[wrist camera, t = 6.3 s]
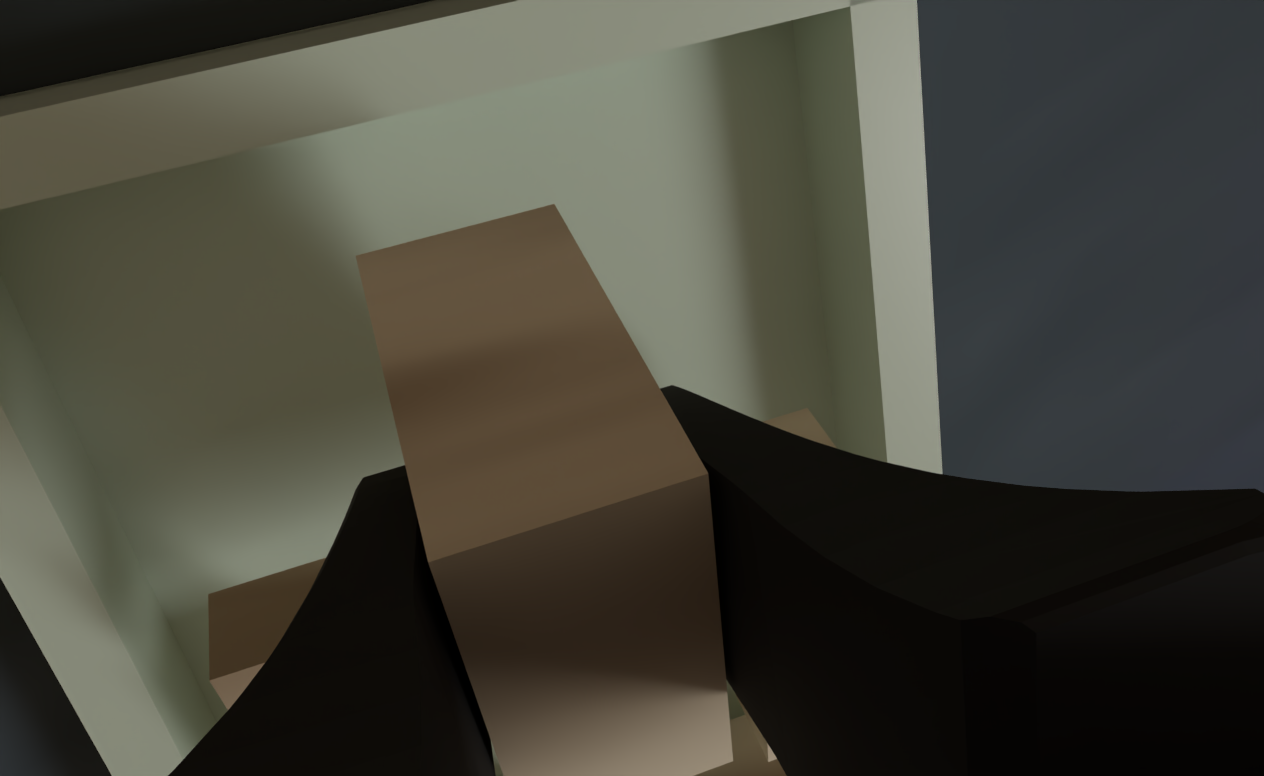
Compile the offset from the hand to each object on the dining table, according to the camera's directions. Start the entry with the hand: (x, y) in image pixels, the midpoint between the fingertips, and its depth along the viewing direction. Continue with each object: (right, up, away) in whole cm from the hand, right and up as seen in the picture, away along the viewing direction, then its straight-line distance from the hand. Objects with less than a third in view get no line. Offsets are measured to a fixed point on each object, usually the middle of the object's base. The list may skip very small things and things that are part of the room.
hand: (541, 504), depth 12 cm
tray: (-1, -2, +7) cm, 7 cm away
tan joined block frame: (0, -2, +5) cm, 5 cm away
